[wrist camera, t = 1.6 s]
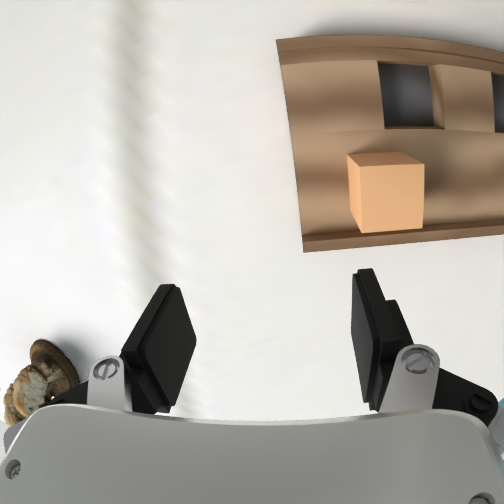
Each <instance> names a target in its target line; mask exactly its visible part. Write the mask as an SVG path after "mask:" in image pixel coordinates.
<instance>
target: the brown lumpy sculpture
mask: <svg viewBox="0 0 504 504" xmlns="http://www.w3.org/2000/svg"><path fill="white" fill-rule="evenodd" d="M30 359H31V365H28V366H26V368H24V369H22V370H21V371H20V374H19V375H18V377H17V378H16V379H15V381H14V383H13V384H12V383H11V384H10V387H9V389H7V393H6V394H5V396H4V405H5V417H4V418H5V421H6V423H7V425H8V427H11V426H12V425H14V424H16V423H18V422H20V421H22V420H24V419H26V418H28V417H30V416H31V415H32V414H33V413H34V412H35V411H37V410H38V409H40V408H43V407H46V406H47V405H48V403H49V402H50V401H51V398H52V396H54V397H56V396H58V395H60V394H62V393H64V392H66V391H68V390H70V389H72V388H74V387H76V386H78V385H80V384H79V378H78V375H77V372H76V370H75V368H74V366H73V365H72V363H71V362H70V361H69V359H68V358H67V357H64V354H63V352H62V351H60V350H59V349H58V348H57V347H55V346H54V345H53V344H51V343H49V342H47V341H44V340H37V341H35V342H34V343H33V345H32V346H31V349H30Z"/></svg>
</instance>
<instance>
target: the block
mask: <svg viewBox="0 0 504 504" xmlns="http://www.w3.org/2000/svg"><path fill="white" fill-rule="evenodd" d="M347 164H348V179H349V196H350V211H351V213H352V215H353V217H354V219H355V221H356V223H357V225H358V227H359V229H360V231H361V233H370V232H382V231H394V230H406V229H418V228H422V226H423V209H424V164H423V163H422V162H420V161H418V160H416V159H414V158H413V157H411V156H409V155H407V154H405V153H403V152H382V153H361V154H347Z"/></svg>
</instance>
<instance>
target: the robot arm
mask: <svg viewBox="0 0 504 504" xmlns="http://www.w3.org/2000/svg"><path fill="white" fill-rule="evenodd" d="M351 335H352V341H353V346H354V351H355V356H356V362H357V367H358V373H359V379H360V385H361V391H362V397H363V402H364V403H367V402H369V408H370V410H375V411H377V412H378V414H370V415H361V416H351V417H340V418H328V419H314V420H293V421H228V420H207V419H193V418H181V417H170V416H161V415H154V414H155V413H157V412H161V413H169V412H170V409H171V406H174V405H175V404H176V401H177V398H178V395H179V392H180V389H181V386H182V383H183V381H184V378H185V375H186V372H187V369H188V366H189V363H190V360H191V357H192V355H193V352H194V349H195V346H196V335H195V332H194V330H193V327H192V324H191V321H190V318H189V315H188V312H187V309H186V306H185V302H184V299H183V296H182V293H181V290H180V288H179V287H176V286H175V284H162V285H160V286H159V287H158V289H157V291H156V292H155V294H154V295H153V297H152V299H151V300H150V302H149V304H148V305H147V307H146V309H145V310H144V312H143V314H142V315H141V317H140V319H139V320H138V322H137V324H136V325H135V327H134V329H133V330H132V332H131V334H130V336H129V337H128V339H127V341H126V343H125V344H124V346H123V348H122V349H121V354H120V356H119V357H117V356H106V357H103V358H101V359H99V360H98V361H96V362H95V363H94V364H93V366H92V367H91V369H90V372H89V380H88V381H86V382H84V383H82V384H80V385H78V386H76V387H74V388H72V389H70V390H68V391H66V392H64V393H62V394H60V395H58V396H56V397H55V398H53V399H52V400H51V401H50V402H49V403H48V405H47V406H46V407H43V408H40V409H38V410H37V411H35V412H34V413H33V414H32V415H31V416H30V417H28V418H26V419H24V420H22V421H20V422H18V423H16V424H14V425H12V426H11V427H9V428H8V429H7V431H6V432H5V434H4V446H5V452H6V455H5V457H4V459H3V461H2V463H1V465H0V504H504V408H503V407H501V406H499V405H498V401H497V399H496V397H495V396H494V394H493V393H492V392H490V391H489V390H487V389H485V388H483V387H481V386H478V385H476V384H474V383H472V382H470V381H467V380H465V379H463V378H461V377H459V376H457V375H454V374H452V373H450V372H448V371H446V370H444V369H441V368H439V366H440V359H439V356H438V354H437V353H436V352H435V351H434V350H433V349H432V348H430V347H428V346H425V345H420V344H414V343H413V340H412V338H411V335H410V333H409V330H408V328H407V325H406V323H405V320H404V318H403V315H402V313H401V311H400V308H399V306H398V304H397V302H396V300H387V301H386V300H385V298H384V295H383V293H382V290H381V288H380V285H379V283H378V280H377V278H376V276H375V273H374V271H373V269H372V268H369V269H358V272H357V273H356V274H353V278H352V318H351Z"/></svg>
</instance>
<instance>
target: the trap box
mask: <svg viewBox="0 0 504 504" xmlns="http://www.w3.org/2000/svg"><path fill="white" fill-rule="evenodd" d="M276 45H277V50H278V56H279V62H280V68H281V74H282V80H283V87H284V93H285V100H286V106H287V113H288V120H289V128H290V135H291V143H292V150H293V158H294V166H295V175H296V183H297V192H298V201H299V211H300V221H301V231H302V242H303V253H305V252H317V251H328V250H339V249H350V248H362V247H373V246H384V245H395V244H406V243H417V242H427V241H438V240H449V239H460V238H470V237H481V236H491V235H502V234H504V53H503V52H499V51H495V50H490V49H486V48H481V47H476V46H471V45H466V44H460V43H454V42H448V41H441V40H433V39H425V38H415V37H402V36H385V35H326V36H309V37H296V38H286V39H277V40H276ZM382 152H403V153H405V154H407V155H409V156H411V157H413V158H414V159H416V160H418V161H420V162H422V163H423V164H424V209H423V226H422V228H418V229H406V230H394V231H382V232H370V233H361V231H360V229H359V227H358V225H357V223H356V221H355V219H354V217H353V215H352V213H351V211H350V196H349V179H348V164H347V154H361V153H382Z"/></svg>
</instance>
